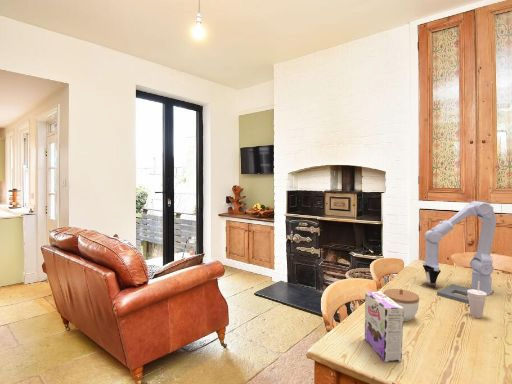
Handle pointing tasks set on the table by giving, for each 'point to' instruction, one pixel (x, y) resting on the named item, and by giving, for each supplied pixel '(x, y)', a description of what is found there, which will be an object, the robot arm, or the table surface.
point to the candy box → (384, 326)
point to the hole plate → (452, 289)
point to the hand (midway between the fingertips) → (431, 281)
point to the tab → (431, 287)
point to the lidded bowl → (404, 301)
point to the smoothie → (476, 301)
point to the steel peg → (429, 281)
